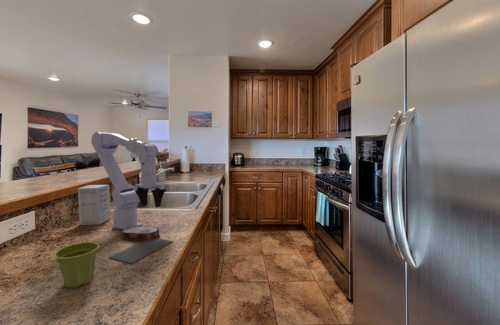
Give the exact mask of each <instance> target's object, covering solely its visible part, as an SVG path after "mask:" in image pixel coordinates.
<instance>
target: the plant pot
mask: <svg viewBox="0 0 500 325" xmlns="http://www.w3.org/2000/svg"><path fill="white" fill-rule="evenodd" d="M99 248H100V244H99V243H98V242H95V241H94V242H93V241H86V242H85V241H84V242H77V243H73V244H70V245H67V246H64V247H61V248H60V249H58V250H56V251H55V253H54V254H53V257H54V258H55V259H56V261H57V263H58V264H59V268H60V271H61V275H62V279H63V284H64V286H65V287H67V288H72V289H73V288H78V287H80V286H82V285H86V284H88V283H90V282H91V281H92V280H93V279H94V275H95V274H94V272H95V264H96V255H97V252H98V249H99Z"/></svg>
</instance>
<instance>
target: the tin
mask: <svg viewBox="0 0 500 325" xmlns="http://www.w3.org/2000/svg"><path fill="white" fill-rule="evenodd" d="M120 232H121V237H120V238H121V239H123V240H129V241H141V242H143V241H146V240H152V239H155V238H159V237H160V229H159V227H156V226H145V225H144V226H143V225H140V226H133V227H129V228H127V229H121V231H120Z"/></svg>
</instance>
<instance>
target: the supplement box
mask: <svg viewBox="0 0 500 325" xmlns="http://www.w3.org/2000/svg"><path fill="white" fill-rule="evenodd" d="M110 192H111V191H110V185H109V184H89V185H85V186H82V187H78V188H77V197H78V198H77V199H78V212H79V213H78V216H79V226H80V225H81V226H83V225H84V226H85V225H86V226H87V225H88V226H89V225H101V224H103V223H105V222H107V221H109V220H111V219H112V212H111V197H110V196H111V195H110Z"/></svg>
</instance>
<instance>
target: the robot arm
mask: <svg viewBox="0 0 500 325" xmlns="http://www.w3.org/2000/svg"><path fill="white" fill-rule="evenodd" d="M90 143H91V145H92V146H93V149H94V150H95V152H96V154H97V156H98V158H99V160H100V163H101V164H102V167H103V168H104V171H105V172H106V174H107V176H108V178H109V180H110V182H111V184H112V185H113V187H114V189H113V191H112V192H111V197H112V201H113V204H114V206H115V208H114V209H113V213H112V214H113V216H112V217H113V225H112V226H111V228H115V229H119V230H120V229H121V230H124V229H127V228H129V227H133V226H143V223H141V222H138V205H139V203H140V204H141V207H146V206H148V195H149V190H150V191H151V194H152V197H153V200H154V201H153V202H154V206H155V208H159V207H161V205H162V201H163V197H164V195H165V192H166V185H165V183H159V182H158V179H157V175H158V174H157V162H156V157H157V156H158V155H159V149H158V147H157V145H155V144H154V143H150V144H148V143H147V142H146V141H140V140H139V138H137V137H132V138H129V139H128V138H127V137H126V136H123V135H121V134H120V133H117V132H111V133H110V132H101V131H100V132H99V131H95V132H93V134H92V136H91V142H90ZM119 145H120V146H123V147H125V150H127V151H128V152H130V153H132V154H134V155H136V156H137V157H138V162H139V163H140V172H141V183H135V185H132V184H130V183H128V181H127V179H126V177H125V175H124V174H123V172H122V169H121V168H120V166H119V164H118V162H117V160H116V158H115V157H114V154H115V153H116V152H117V150H118V147H119Z"/></svg>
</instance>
